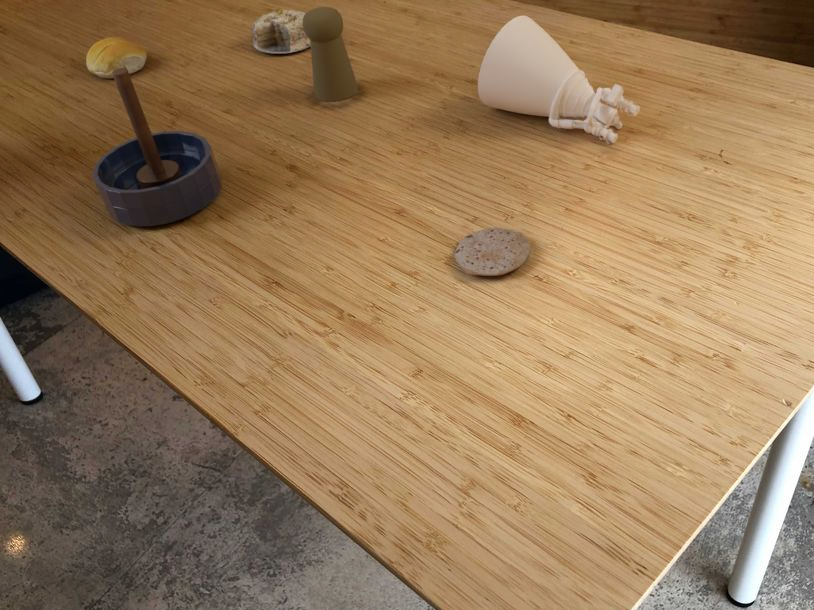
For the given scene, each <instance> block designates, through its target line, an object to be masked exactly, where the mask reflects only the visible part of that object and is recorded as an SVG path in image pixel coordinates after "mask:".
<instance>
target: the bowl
mask: <svg viewBox="0 0 814 610" xmlns="http://www.w3.org/2000/svg"><path fill="white" fill-rule="evenodd" d="M151 134H152V137H153V139H154V142H155V145H156V147H157V150H158V153H159V155H160V158H161V160H171V161H174V162H176V163H177V164H178V165H179V168H180V171H181V174H182V176H183V177H181V178H179V179H177V180H175V181H173V182H170V183H167V184H164V185H161V186H158V187H152V188H146V189H141V187H140V184H139V182H138V179H137V172H138V171H139V170H140V169H141V168H142V167H143V166H145V165H147V162H146V160H145V157H144V155H143V152H142V149H141V147H140V144H139V142H138V139H137V137H134V138H131V139H128V140H127V141H124V142H122V143H120V144H118V145H116V146H114V147H112V148H111V149H110V150H109V151H107V152H106V153H105V154H103V155H102V156H101V157H100V158H99V159H98V160H97V162H96V163H95V164H94V166H93V170H92V174H91V177H92V179H93V182H94V183H95V186H96V188H97V190H98V192H99V194H100V197H101V199H102V202H103V204H104V206H105V208H106V211H107V213H108V214H109V217H110V218H112V219H113V220H115V221H116V222H118V223H120V224H123V225H127V226H132V227H155V226H162V225H167V224H171V223H175V222H179V221H181V220H183V219H186V218H188V217H191V216H192V215H194V214H196V213H198V212H199V211H201V210H202V209H204V208H206V207H207V206H208V205H209V204H210V203H211V202H213V200H215V199H216V197H217V196H218V194H219V192H220V191H221V189H222V176H221V173H220V170H219V166H218V163H217V160H216V156H215V154H214V151H213V149H212V145H211V144H210V143H209V141H208V139H206V138H205V137H204V136H202V135H199V134H198V133H195V132H189V131H184V130H163V131H158V132H151Z"/></svg>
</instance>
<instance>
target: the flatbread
mask: <svg viewBox="0 0 814 610" xmlns="http://www.w3.org/2000/svg"><path fill="white" fill-rule="evenodd" d="M531 248H532V247H531V244H530V242H529V239H528V237H527V236H526V235H525V234H524V233H522V232H521V231H517V230H513V229H509V228H504V227H496V226H494V227H487V228H484V229H481V230H477V231H474V232H471V233H470V234H467V235H466V236H464V237H462V239H461V240H460V242H459V243H458V245H457V247H456V249H455V253H454V258H455V261H456V264H457V265H458V266H459V267H460V269H462V270H463V271H464V272H465V273H466V274H467V275H470V276H481V277H482V276H483V277H496V276H497V277H498V276H503V275H507V274H509V273H510V272H512V271H515V270H517V269H519V268H520V267H521V266H522V265H524V264H526V261H527V260H528V258H529V255H530V253H531Z"/></svg>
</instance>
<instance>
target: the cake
mask: <svg viewBox="0 0 814 610" xmlns="http://www.w3.org/2000/svg"><path fill="white" fill-rule="evenodd" d="M305 14H306V12H303V11H300V10H299V11H297V10H293V9H283V8H278V9H276V10H275V11H272V12H269V13H266V14H265V13H263V14H262V15H261V16H258V17H257V18H256V20H255V21H253V23H252V29H251V32H252V37H253V38H252V47H253V48H254V49H255V50H257V51H259V52H262V53H267V54H278V55H279V54H291V53H296V52H299V51H303V50H306V49H308V48H311V44H310V39H309V38H308V37H307V35H306V34H305V32H304V29H303V18H304V15H305Z"/></svg>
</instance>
